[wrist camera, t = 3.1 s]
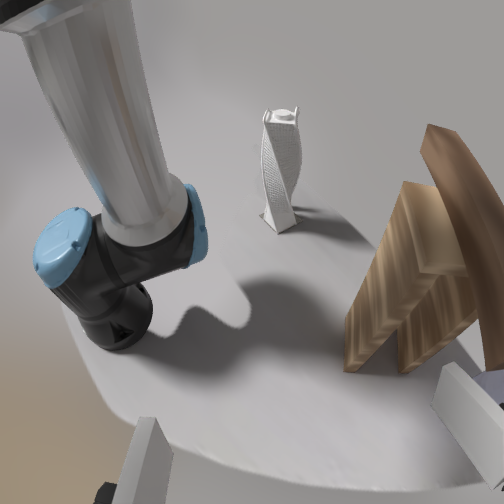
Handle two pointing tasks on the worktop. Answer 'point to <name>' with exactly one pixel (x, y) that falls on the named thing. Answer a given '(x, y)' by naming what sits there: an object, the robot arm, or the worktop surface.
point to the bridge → (412, 285)
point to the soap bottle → (492, 384)
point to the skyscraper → (280, 167)
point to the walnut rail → (473, 230)
